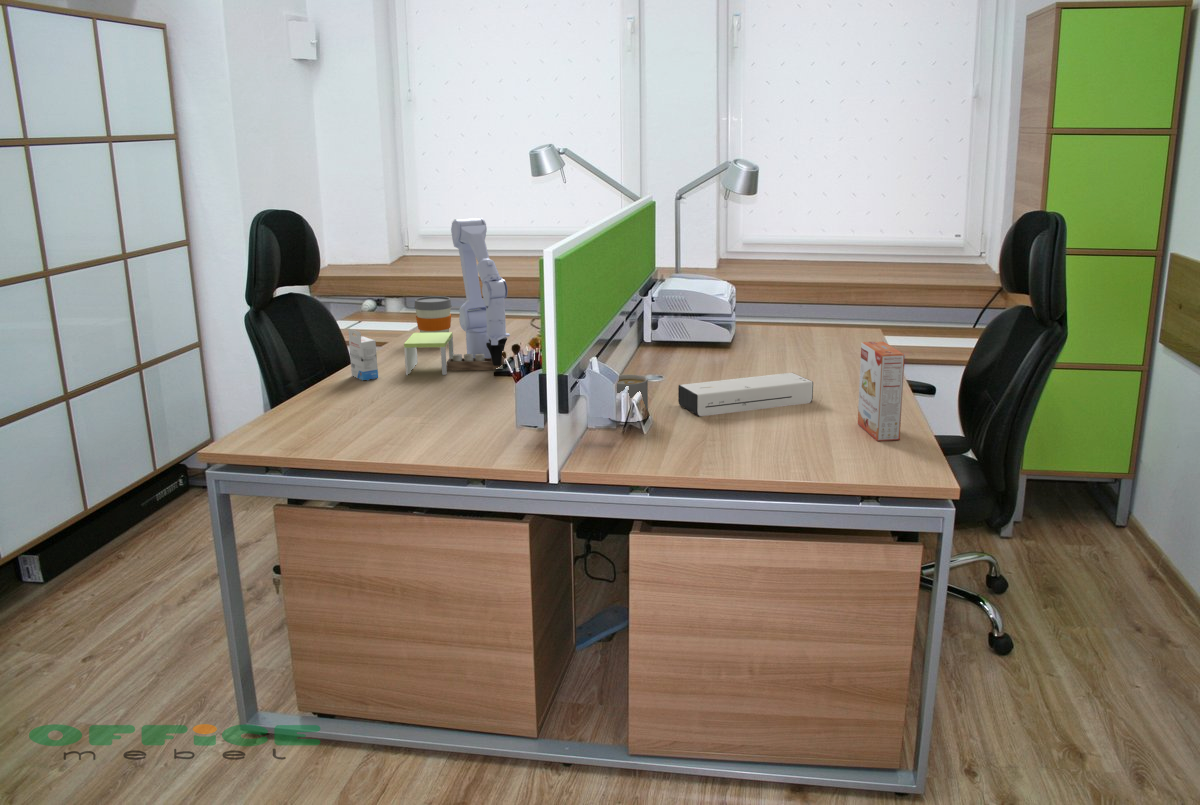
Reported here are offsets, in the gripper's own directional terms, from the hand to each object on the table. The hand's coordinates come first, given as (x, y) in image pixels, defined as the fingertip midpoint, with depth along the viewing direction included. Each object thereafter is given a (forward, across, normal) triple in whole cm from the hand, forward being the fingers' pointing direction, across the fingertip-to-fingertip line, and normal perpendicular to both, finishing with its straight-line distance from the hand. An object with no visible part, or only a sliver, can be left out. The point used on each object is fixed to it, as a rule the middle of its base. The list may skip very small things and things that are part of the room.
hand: (497, 363), depth 312 cm
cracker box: (+2, -71, -98) cm, 121 cm away
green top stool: (+1, 0, +21) cm, 21 cm away
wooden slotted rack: (+1, 0, +7) cm, 7 cm away
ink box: (+2, -10, +39) cm, 40 cm away
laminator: (+2, -44, -70) cm, 83 cm away
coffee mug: (+2, -56, -37) cm, 67 cm away
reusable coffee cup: (+2, +39, +26) cm, 47 cm away
